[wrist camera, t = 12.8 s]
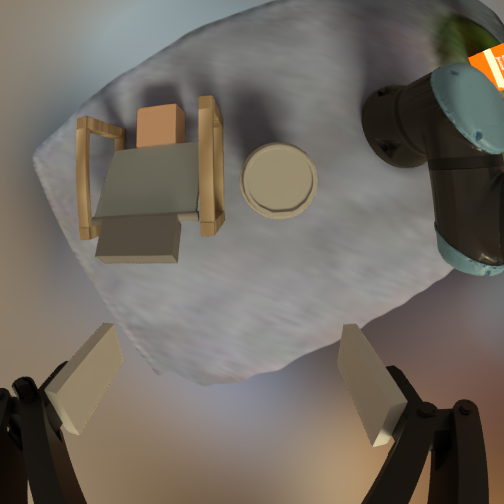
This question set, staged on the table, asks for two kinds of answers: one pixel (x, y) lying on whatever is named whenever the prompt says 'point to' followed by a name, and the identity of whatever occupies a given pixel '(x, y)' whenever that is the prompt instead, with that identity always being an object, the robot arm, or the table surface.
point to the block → (160, 125)
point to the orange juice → (491, 64)
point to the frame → (208, 167)
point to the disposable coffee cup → (278, 180)
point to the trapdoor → (147, 203)
